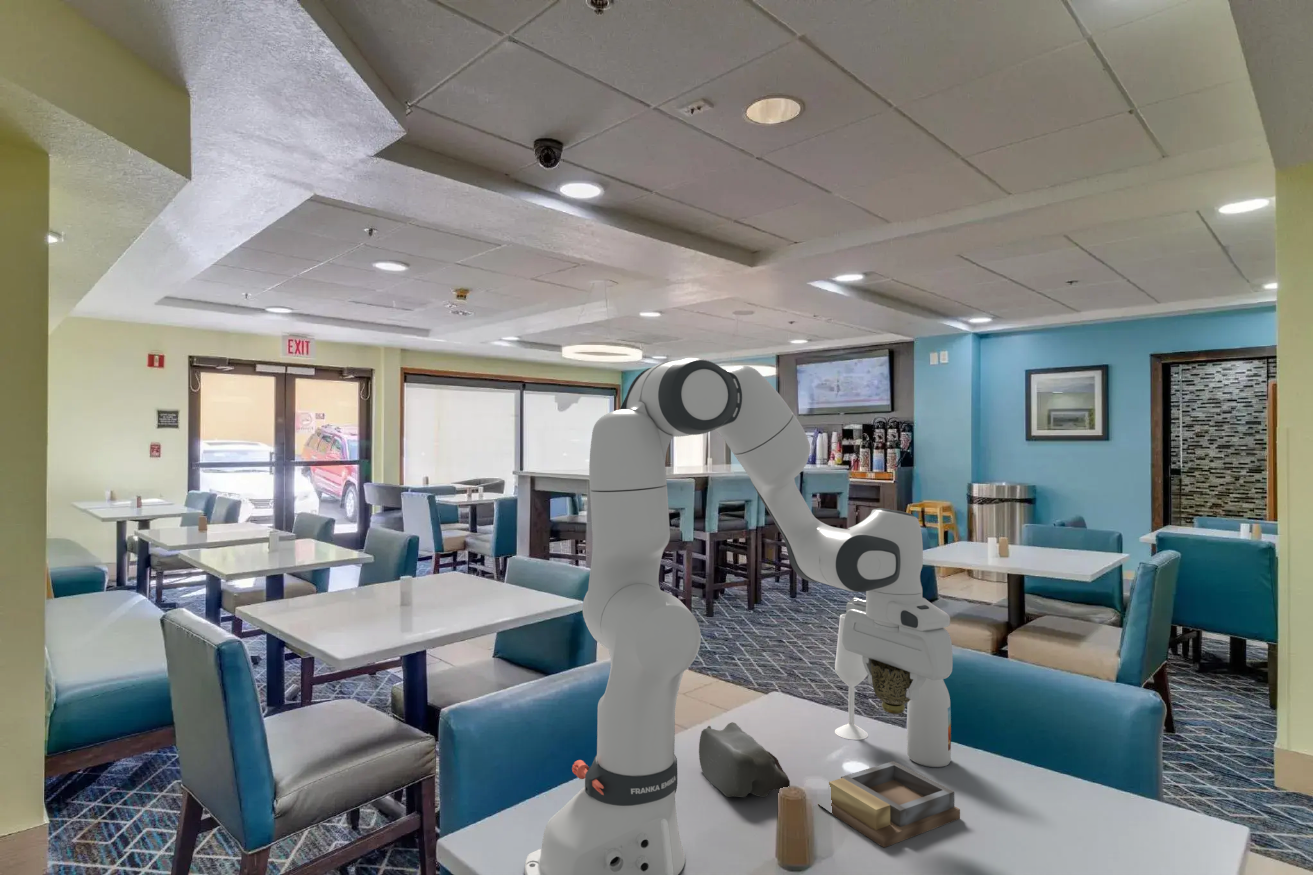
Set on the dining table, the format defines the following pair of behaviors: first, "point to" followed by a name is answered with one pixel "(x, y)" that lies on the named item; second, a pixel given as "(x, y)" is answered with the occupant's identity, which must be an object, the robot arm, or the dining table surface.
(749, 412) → the robot arm
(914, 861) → the dining table surface
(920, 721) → the milk bottle
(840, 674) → the champagne flute
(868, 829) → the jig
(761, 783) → the rock
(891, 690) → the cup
